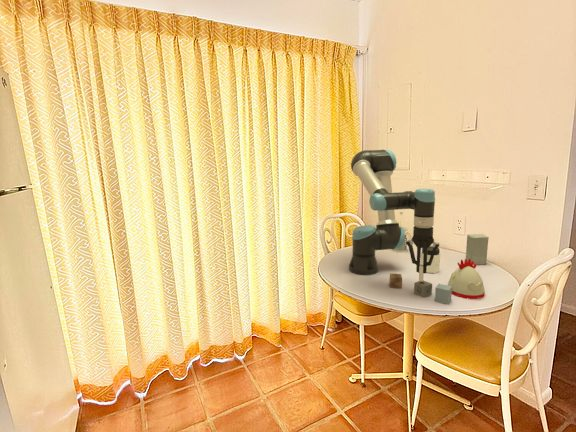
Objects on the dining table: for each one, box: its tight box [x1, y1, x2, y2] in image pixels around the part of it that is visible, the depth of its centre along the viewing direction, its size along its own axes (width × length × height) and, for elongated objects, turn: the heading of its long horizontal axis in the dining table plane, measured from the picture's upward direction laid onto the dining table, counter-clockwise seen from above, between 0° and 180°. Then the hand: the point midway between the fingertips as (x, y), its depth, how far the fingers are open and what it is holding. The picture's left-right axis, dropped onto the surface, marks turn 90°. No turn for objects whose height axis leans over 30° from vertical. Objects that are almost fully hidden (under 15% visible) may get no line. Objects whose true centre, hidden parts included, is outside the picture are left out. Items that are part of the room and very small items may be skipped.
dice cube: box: [413, 280, 433, 298], centre depth 130 cm, size 5×5×5 cm
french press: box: [391, 211, 412, 254], centre depth 189 cm, size 10×12×25 cm
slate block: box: [434, 283, 453, 305], centre depth 123 cm, size 5×5×6 cm
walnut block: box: [389, 273, 403, 289], centre depth 139 cm, size 5×5×5 cm
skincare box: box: [465, 233, 489, 266], centre depth 163 cm, size 8×7×16 cm
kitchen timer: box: [447, 258, 485, 300], centre depth 129 cm, size 14×14×15 cm
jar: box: [420, 245, 441, 274], centre depth 155 cm, size 9×8×12 cm
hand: (421, 279), depth 129 cm, fingers closed
